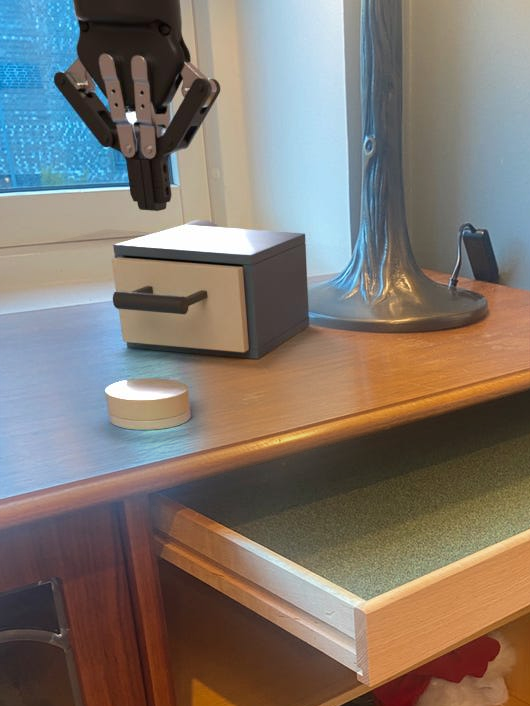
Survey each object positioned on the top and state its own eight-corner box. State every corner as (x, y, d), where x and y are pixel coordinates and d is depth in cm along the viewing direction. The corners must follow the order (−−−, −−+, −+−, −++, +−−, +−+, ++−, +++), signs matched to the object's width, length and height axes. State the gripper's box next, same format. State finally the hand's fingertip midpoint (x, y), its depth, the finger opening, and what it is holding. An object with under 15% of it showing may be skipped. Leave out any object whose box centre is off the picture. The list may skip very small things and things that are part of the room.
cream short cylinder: (94, 425, 69) (89, 395, 68) (132, 403, 74) (128, 374, 73) (170, 433, 68) (166, 403, 67) (203, 410, 73) (200, 381, 72)
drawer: (218, 368, 80) (210, 280, 77) (90, 357, 82) (76, 269, 78) (294, 321, 97) (290, 246, 93) (186, 312, 98) (178, 238, 94)
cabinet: (258, 359, 87) (251, 255, 82) (127, 347, 88) (112, 244, 84) (309, 325, 99) (305, 233, 95) (193, 315, 101) (184, 224, 97)
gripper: (228, -44, 71) (247, 209, 80) (62, -50, 73) (99, 200, 81) (185, -58, 65) (211, 220, 73) (4, -63, 66) (51, 209, 75)
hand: (152, 209), depth 77 cm, fingers closed
